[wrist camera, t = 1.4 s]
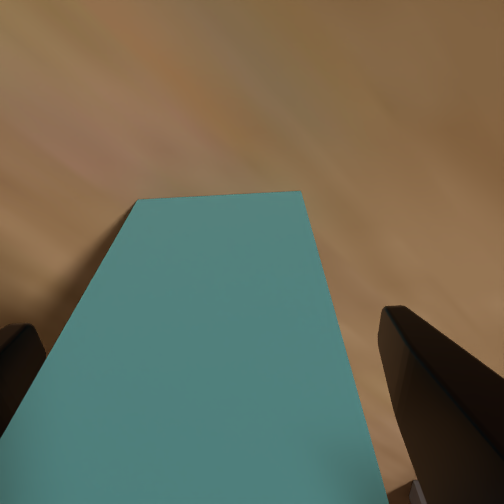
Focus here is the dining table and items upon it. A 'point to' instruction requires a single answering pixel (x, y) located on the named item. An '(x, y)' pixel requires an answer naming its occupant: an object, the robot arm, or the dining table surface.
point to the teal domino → (198, 371)
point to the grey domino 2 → (416, 494)
